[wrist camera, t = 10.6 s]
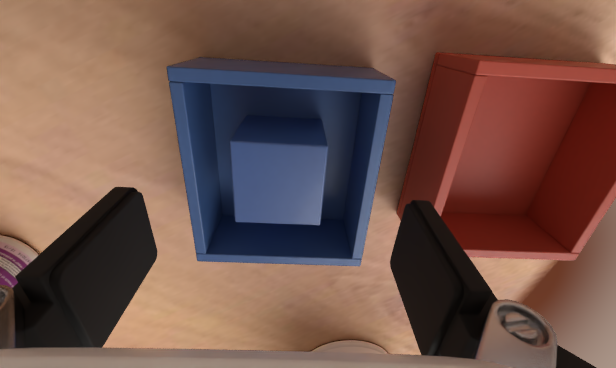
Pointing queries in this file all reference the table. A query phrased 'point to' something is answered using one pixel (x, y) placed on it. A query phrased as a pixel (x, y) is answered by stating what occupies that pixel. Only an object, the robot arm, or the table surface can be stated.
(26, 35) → the table surface
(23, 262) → the pill bottle
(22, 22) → the table surface
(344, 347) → the mug
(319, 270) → the table surface
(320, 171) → the blue block
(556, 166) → the red bin
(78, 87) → the table surface
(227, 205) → the blue bin
